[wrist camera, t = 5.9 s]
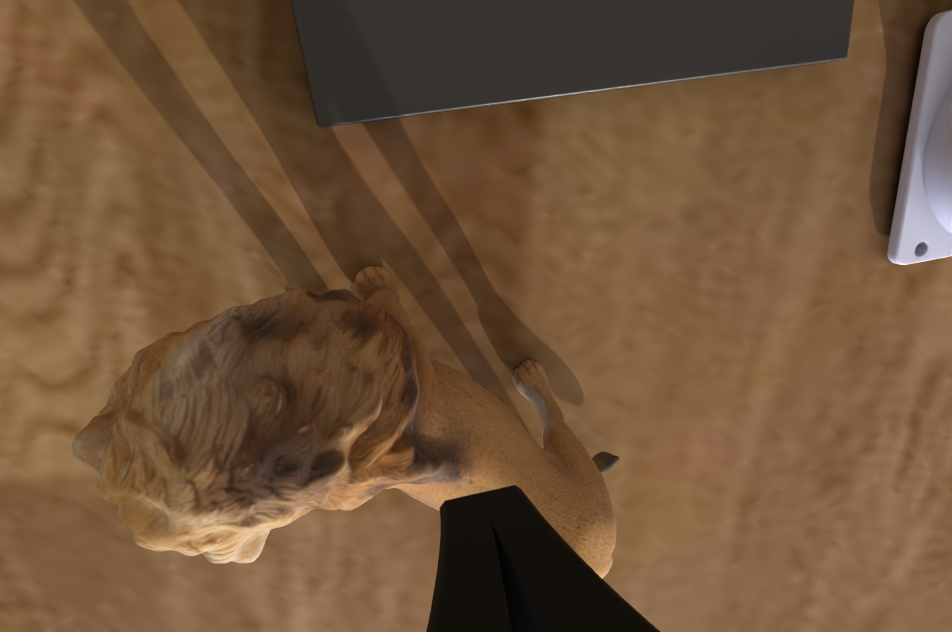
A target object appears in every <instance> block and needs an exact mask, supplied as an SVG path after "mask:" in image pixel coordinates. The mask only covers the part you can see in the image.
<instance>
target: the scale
mask: <svg viewBox="0 0 952 632" xmlns="http://www.w3.org/2000/svg"><path fill="white" fill-rule="evenodd" d="M290 1H291V5H292V10H293V14H294V19H295V24H296V28H297V33H298V37H299V42H300V47H301V51H302V56H303V60H304V65H305V70H306V74H307V79H308V83H309V88H310V93H311V97H312V102H313V106H314V111H315V116H316V120H317V125H318V126H319V127H329V126H337V125H345V124H353V123H360V122H368V121H376V120H384V119H391V118H399V117H407V116H415V115H422V114H430V113H438V112H446V111H453V110H461V109H469V108H477V107H484V106H492V105H500V104H508V103H515V102H523V101H531V100H539V99H546V98H554V97H562V96H570V95H577V94H585V93H593V92H601V91H608V90H616V89H624V88H632V87H639V86H647V85H655V84H663V83H670V82H678V81H686V80H694V79H701V78H709V77H717V76H725V75H732V74H740V73H748V72H756V71H763V70H771V69H779V68H787V67H794V66H802V65H810V64H817V63H825V62H832V61H839V60H844V59H846V58H847V54H848V46H849V37H850V29H851V21H852V13H853V5H854V0H290Z"/></svg>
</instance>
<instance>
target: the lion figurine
mask: <svg viewBox="0 0 952 632" xmlns="http://www.w3.org/2000/svg"><path fill="white" fill-rule="evenodd" d="M351 288H352V290H353V292H354V293H355V294H356V295H357V296H358V297H359V298H360V299H359V298H358V297H356V296H355V295H354V293H353V292H351V291H349V290H347V289H342V290H332V291H329V292H327V293H325V294H323V295H321V296H318V295H315V294H313V293H312V292H311V291H310V290H308V289H300V288H298V289H293V290H290V291H288V292H286V293H283V294H281V295H278V296H275V297H272V298H266V299H262V300H259V301H257V302H256V303H254V304H252V305H245V306H234V307H231V308H229V309H226V310H225V311H223V312H222V313H221V314H220V315H217V316H216V317H214V318H213V319H211V320H206V321H201V322H198V323H196V324H194V325H193V326H192V327H191V328H189V329H188V330H187V331H185V332H173V333H168V334H167V335H166V336H165V337H163V338H161V339H159V340H157V341H156V342H154V343H153V344H151V345H149V346H147V347H145V348H143V349H141V350H139V351H138V352H137V353H136V355H135V357H134V359H133V362H132V365H131V366H130V368H129V369H128V370H127V371H126V372H125V373H124V374H123V375H122V376H121V377H120V378H119V379H118V380H117V381H116V382H115V383H114V385H113V388H112V391H111V395H110V398H109V400H108V403H107V405H106V406H105V407H104V408H103V409H102V410H101V411H100V412H99V414H98V416H95V417H94V418H93V419H92V420H91V421H90V423H89V424H88V425H87V426H86V427H85V428H84V429H83V430H82V431H81V432H80V433H78V434H77V436H76V438H75V439H74V441H73V443H72V451H73V456H74V458H76V459H77V460H79V461H81V462H82V463H84V464H85V465H87V466H88V467H90V468H92V469H94V470H96V471H97V472H99V480H98V492H99V494H100V496H101V497H103V498H105V499H107V500H109V501H110V502H112V507H113V509H114V511H115V512H116V513H117V514H118V515H119V517H120V519H121V522H122V523H123V525H124V526H125V527H126V528H127V529H128V530H129V531H131V532H132V534H133V539H134V542H135V543H136V544H138V545H139V546H141V547H144V548H147V549H151V550H154V551H165V550H176V551H179V552H181V553H183V554H185V555H190V556H194V555H197V554H200V553H203V554H204V556H205V557H206V558H207V559H208V560H209V561H210V562H213V563H227V562H230V561H235V562H238V563H249V562H253V561H254V560H255V559H256V558H257V557H258V556H259V555H260V553H261V551H262V549H263V546H264V544H265V541H266V538H267V536H268V534H269V532H270V530H271V529H273V528H277V527H282V526H284V525H287V524H289V523H291V522H292V521H294V520H295V519H297V518H299V517H301V516H303V515H305V514H306V513H308V512H309V511H311V510H313V509H315V508H322V509H325V510H336V509H338V508H339V509H341V510H352V509H354V508H357V507H358V506H360V505H361V504H363V503H364V502H366V501H367V500H369V499H371V498H372V497H373V496H374V495H376V494H377V493H379V492H381V491H382V490H384V489H389V488H398V489H400V490H402V491H403V492H405V493H407V494H408V495H410V496H412V497H413V498H415V499H417V500H419V501H421V502H423V503H425V504H427V505H429V506H431V507H433V508H435V509H437V510H438V511H440V506H441V505H442V504H443V503H444V501H445V500H450V499H454V498H459V497H463V496H468V495H472V494H476V493H481V492H485V491H490V490H494V489H499V488H503V487H508V486H512V485H516V486H518V487H519V488H521V489H522V490H523V492H524V493H525V494H526V496H527V497H528V498H529V500H530V501H531V502H532V503H533V505H534V506H535V507H536V508H537V510H538V511H539V512H540V513H541V514H542V515H543V517H544V518H545V519H546V520H547V521H548V522H549V524H550V525H551V526H552V527H553V528H554V529H555V530H556V531H557V533H558V534H559V535H560V536H561V537H562V538H563V539H564V540H565V541H566V542H567V543H568V545H569V546H570V547H571V548H572V549H573V550H574V551H575V552H576V553H577V554H578V555H579V556H580V557H581V558H582V559H583V560H584V561H585V562H586V563H587V564H588V565H589V566H590V567H591V568H592V569H593V570H594V571H595V572H596V573H597V574H598V575H599V576H600V577H601V578H603V577H604V576H605V575H606V574H607V573H608V571H609V569H610V567H611V566H612V562H613V559H612V552H613V550H614V547H615V542H616V518H615V512H614V509H613V506H612V503H611V499H610V496H609V492H608V489H607V487H606V484H605V482H604V479H603V477H602V475H601V474H603V473H604V472H607V471H608V470H610V469H611V468H612V467H613V466H614V465H615V464H616V463H617V462H618V461H619V459H620V458H619V457H618V456H614V455H612V454H609V453H607V452H600V453H598V454H597V455H595V456H594V457H593V458H591V457H590V455H589V454H588V452H587V451H586V449H585V448H584V447H583V445H582V444H581V443H580V441H579V440H578V439H577V438H576V436H575V435H574V434H573V432H572V431H571V429H570V428H569V427H568V426H567V425H566V423H565V418H564V415H563V413H562V411H561V409H560V408H559V406H558V405H557V403H556V401H555V399H554V397H553V395H552V392H551V390H550V386H549V382H548V379H547V376H546V373H545V370H544V368H543V367H542V365H541V364H540V363H539V362H537V361H534V360H527V361H524V362H522V363H521V364H520V365H519V366H518V367H517V368H516V369H515V370H514V372H513V374H512V381H513V384H514V385H515V387H516V389H517V390H518V391H519V392H520V393H521V394H522V395H523V396H525V397H526V398H527V399H528V400H529V401H530V403H531V404H532V405H533V407H534V408H535V410H536V411H537V413H538V415H539V418H540V422H541V425H542V427H543V428H544V434H543V443H544V449H543V448H542V447H540V446H539V445H538V444H537V443H536V442H535V441H534V440H533V438H532V437H531V436H530V434H529V433H528V432H527V430H526V429H525V428H524V426H523V425H522V424H521V422H520V421H519V420H518V419H517V418H516V416H515V415H514V414H513V413H512V412H511V411H510V410H509V409H508V407H507V406H506V405H505V404H504V403H502V402H501V401H500V400H499V399H498V398H496V397H495V396H494V395H493V394H491V393H490V392H489V391H487V390H486V389H485V388H483V387H482V386H480V385H479V384H478V383H476V382H475V381H473V380H472V379H470V378H469V377H467V376H465V375H463V374H461V373H460V372H458V371H456V370H454V369H452V368H451V367H449V366H447V365H445V364H443V363H440V362H437V361H435V360H432V359H430V358H429V355H428V352H427V350H426V348H425V346H424V344H423V342H422V341H421V339H420V337H419V335H418V334H417V332H416V330H415V329H414V327H413V326H412V324H411V322H410V320H409V319H408V317H407V315H406V312H405V311H404V309H403V307H402V305H401V303H400V299H399V296H398V292H397V289H396V285H395V283H394V280H393V278H392V276H391V274H390V272H389V271H388V270H386V269H385V268H384V267H382V266H369V267H366V268H364V269H362V270H361V271H359V272H358V273H357V275H356V278H355V281H354V282H353V284H352V287H351Z"/></svg>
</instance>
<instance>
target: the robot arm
mask: <svg viewBox="0 0 952 632" xmlns="http://www.w3.org/2000/svg"><path fill="white" fill-rule="evenodd" d="M916 246H917V247H916ZM915 248H916V249H915ZM887 256H888V259H889V261H891V262H893V263H896V264H900V265H907V264H912V263H917V262H923V261H928V260H933V259H938V258H944V257H949V256H952V10H950V11H945V12H941V13H938V14H936V15H935V16H933V17H932V18H931V19H930V21H929V22H928V24H927V26H926V29H925V32H924V38H923V44H922V50H921V55H920V61H919V67H918V73H917V79H916V85H915V91H914V97H913V103H912V109H911V115H910V120H909V126H908V132H907V138H906V144H905V150H904V156H903V162H902V168H901V174H900V180H899V186H898V191H897V197H896V203H895V209H894V215H893V221H892V227H891V233H890V239H889V245H888V251H887ZM440 516H441V538H440V551H439V560H438V569H437V576H436V582H435V588H434V594H433V600H432V606H431V612H430V617H429V622H428V627H427V631H426V632H660V631H659V630H658V629H657V628H655V627H654V626H653V625H652V624H651V623H650V622H648V621H647V620H646V619H645V618H644V617H643V616H642V615H641V614H640V613H638V612H637V611H636V610H635V609H634V608H633V607H632V606H631V605H630V604H628V603H627V602H626V601H625V600H624V599H623V598H622V597H621V596H620V595H619V594H618V593H617V592H615V591H614V590H613V589H612V588H611V587H610V586H609V585H608V584H607V583H606V582H605V581H604V580H603V579H602V578H601V577H600V576H599V575H598V574H597V573H596V572H595V571H594V570H593V569H592V568H591V567H590V566H589V565H588V564H587V563H586V562H585V561H584V560H583V559H582V558H581V557H580V556H579V555H578V554H577V553H576V552H575V551H574V550H573V549H572V548H571V547H570V546H569V545H568V543H567V542H566V541H565V540H564V539H563V538H562V537H561V536H560V535H559V534H558V533H557V531H556V530H555V529H554V528H553V527H552V526H551V525H550V524H549V522H548V521H547V520H546V519H545V518H544V517H543V515H542V514H541V513H540V512H539V511H538V510H537V508H536V507H535V506H534V505H533V503H532V502H531V501H530V500H529V498H528V497H527V496H526V494H525V493H524V492H523V490H522V489H521V488H519V487H518V486H516V485H512V486H508V487H503V488H499V489H494V490H490V491H485V492H481V493H476V494H472V495H468V496H463V497H459V498H454V499H450V500H445V501H444V503H443V504H442V505H441V506H440Z"/></svg>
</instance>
